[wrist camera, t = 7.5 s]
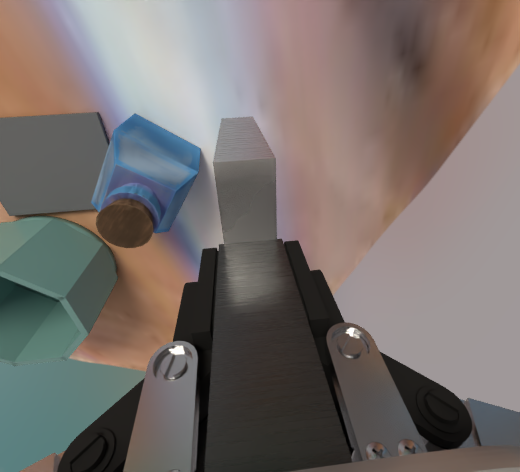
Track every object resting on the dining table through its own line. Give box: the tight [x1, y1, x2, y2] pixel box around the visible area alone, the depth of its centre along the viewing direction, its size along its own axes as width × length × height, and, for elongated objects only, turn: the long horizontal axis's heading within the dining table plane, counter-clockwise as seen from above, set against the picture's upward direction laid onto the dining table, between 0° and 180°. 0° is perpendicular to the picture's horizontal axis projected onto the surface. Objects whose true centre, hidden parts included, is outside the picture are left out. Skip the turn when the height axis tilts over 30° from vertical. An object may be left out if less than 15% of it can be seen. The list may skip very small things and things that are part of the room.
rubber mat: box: [0, 112, 109, 216], centre depth 25 cm, size 12×9×1 cm
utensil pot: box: [0, 216, 118, 366], centre depth 27 cm, size 12×12×9 cm
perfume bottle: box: [91, 114, 201, 248], centre depth 21 cm, size 6×6×12 cm
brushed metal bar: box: [204, 117, 353, 472], centre depth 12 cm, size 2×9×18 cm, turn 3°
